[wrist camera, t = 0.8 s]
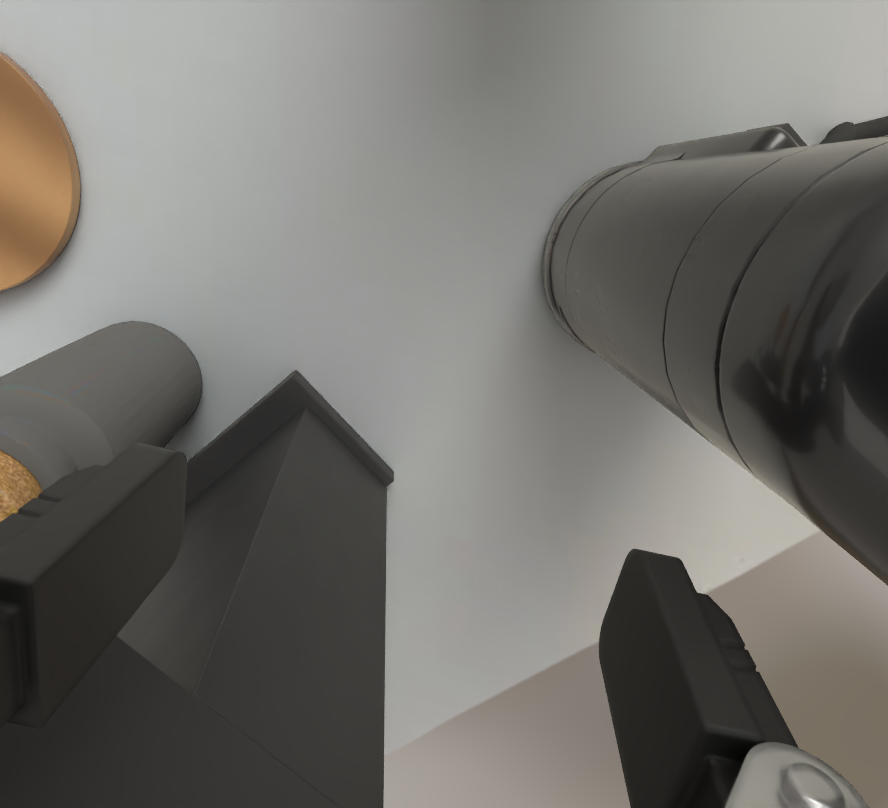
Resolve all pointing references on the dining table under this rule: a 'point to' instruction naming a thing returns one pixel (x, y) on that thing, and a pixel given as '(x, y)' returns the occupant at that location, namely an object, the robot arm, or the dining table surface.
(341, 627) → the coffee maker
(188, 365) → the bottle
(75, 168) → the disc
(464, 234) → the dining table surface
